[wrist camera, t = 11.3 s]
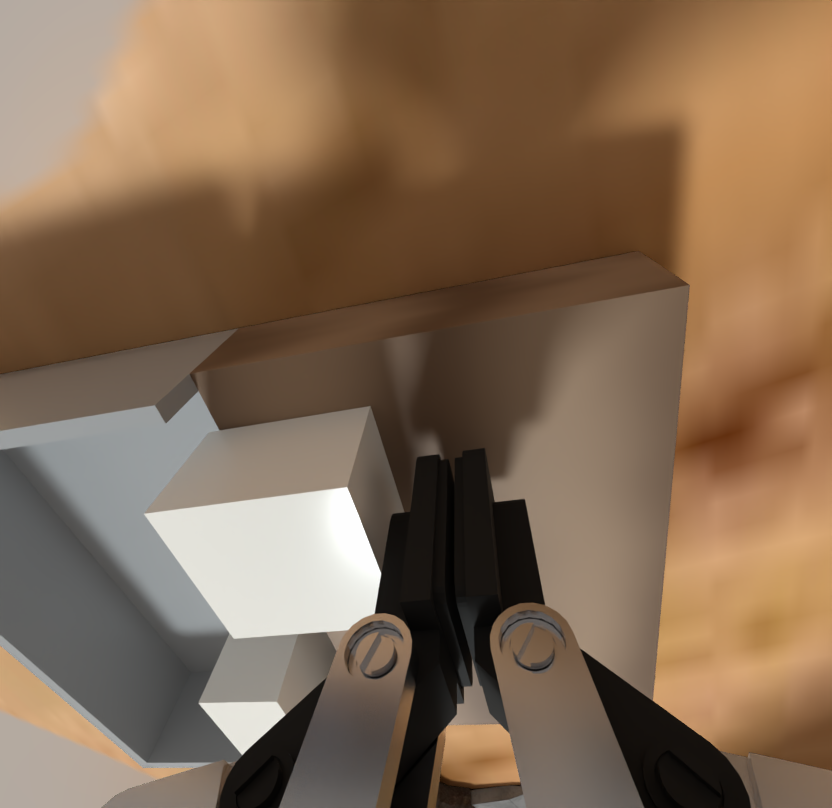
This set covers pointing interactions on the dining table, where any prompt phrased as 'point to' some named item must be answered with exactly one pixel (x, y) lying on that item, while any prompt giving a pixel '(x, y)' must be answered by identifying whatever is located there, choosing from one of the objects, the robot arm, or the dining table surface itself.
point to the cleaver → (480, 797)
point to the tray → (109, 547)
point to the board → (510, 420)
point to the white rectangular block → (284, 522)
